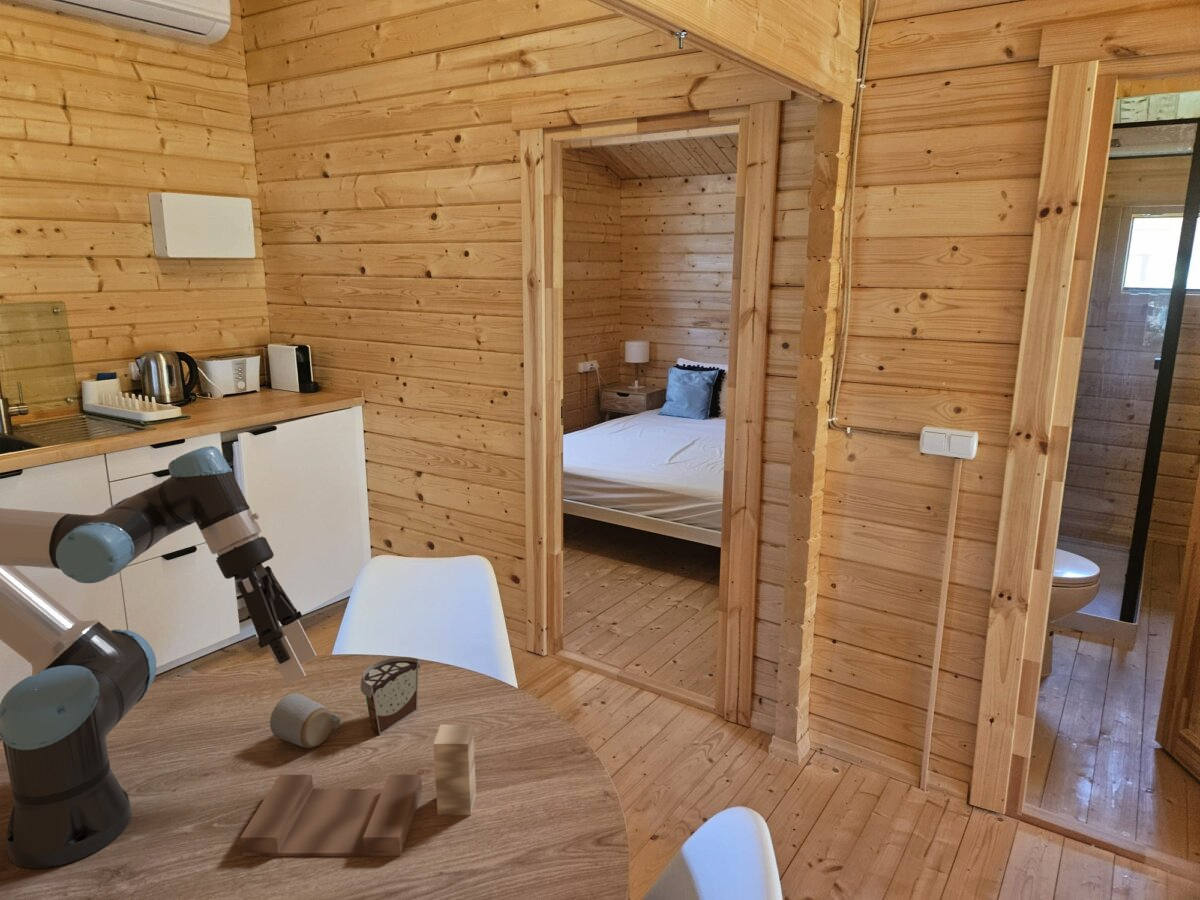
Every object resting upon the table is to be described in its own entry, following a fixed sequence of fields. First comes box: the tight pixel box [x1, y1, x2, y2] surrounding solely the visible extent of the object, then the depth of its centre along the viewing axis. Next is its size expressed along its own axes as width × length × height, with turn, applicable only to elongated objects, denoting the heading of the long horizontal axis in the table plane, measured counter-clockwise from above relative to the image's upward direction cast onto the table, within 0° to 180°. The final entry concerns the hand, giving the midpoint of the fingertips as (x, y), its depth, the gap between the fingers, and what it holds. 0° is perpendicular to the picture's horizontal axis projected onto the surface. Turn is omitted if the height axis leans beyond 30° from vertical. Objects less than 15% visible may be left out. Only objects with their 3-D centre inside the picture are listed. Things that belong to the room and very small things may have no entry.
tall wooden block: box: [433, 724, 477, 816], centre depth 122 cm, size 5×5×12 cm
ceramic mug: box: [269, 692, 341, 749], centre depth 140 cm, size 11×8×8 cm
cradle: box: [240, 774, 423, 857], centre depth 119 cm, size 22×14×3 cm, turn 90°
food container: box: [359, 656, 421, 736], centre depth 145 cm, size 12×6×10 cm, turn 149°
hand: (302, 669), depth 123 cm, fingers open, 13 cm apart
